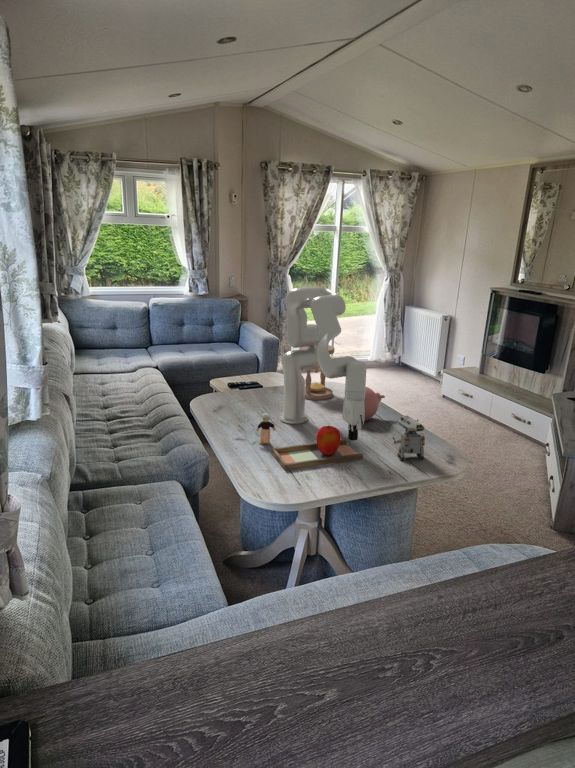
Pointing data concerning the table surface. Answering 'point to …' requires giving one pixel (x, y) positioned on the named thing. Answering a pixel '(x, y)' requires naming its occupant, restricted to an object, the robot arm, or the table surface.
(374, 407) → the balloon
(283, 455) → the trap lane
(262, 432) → the grandmother figurine
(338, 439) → the apple
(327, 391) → the hourglass
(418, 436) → the figurine
